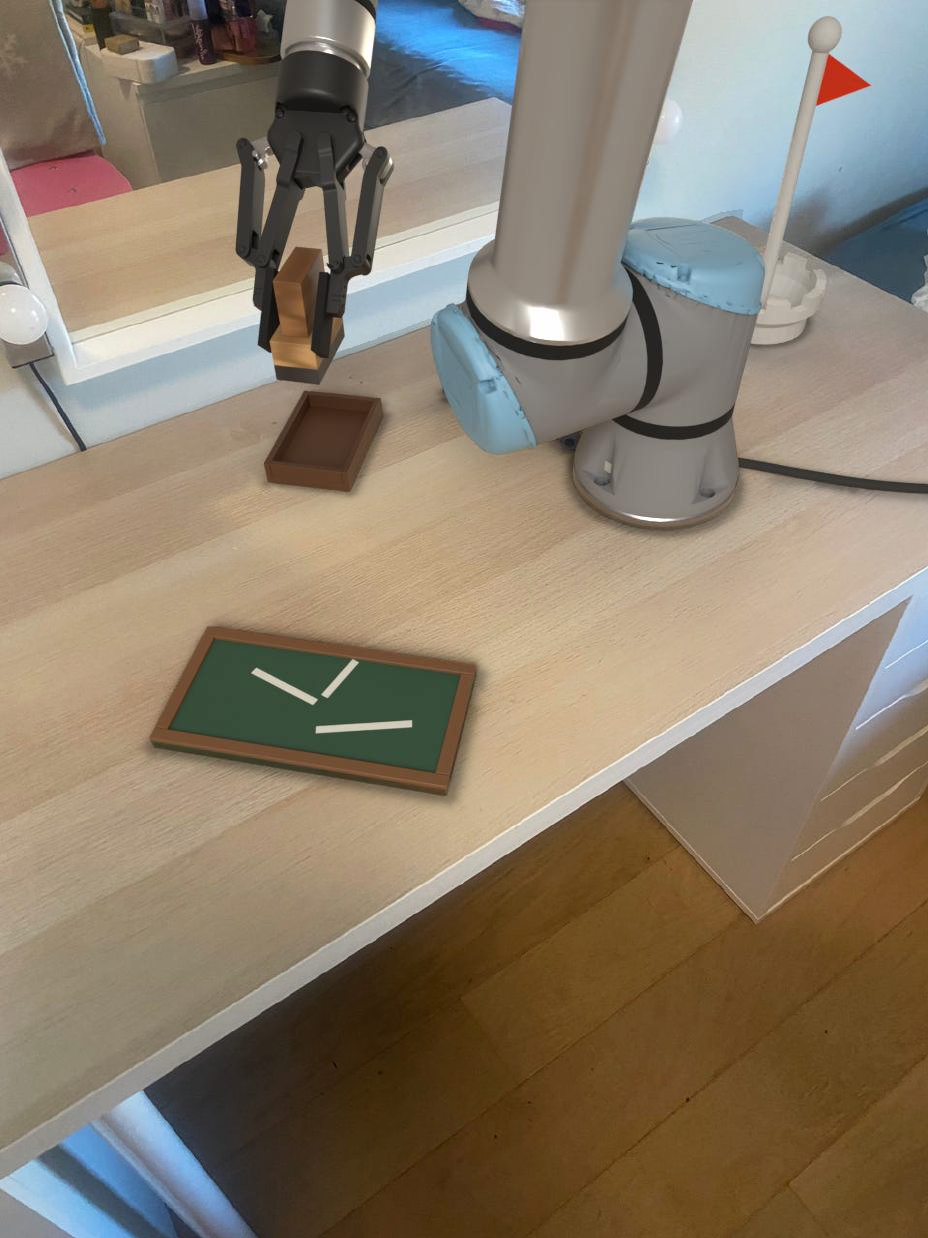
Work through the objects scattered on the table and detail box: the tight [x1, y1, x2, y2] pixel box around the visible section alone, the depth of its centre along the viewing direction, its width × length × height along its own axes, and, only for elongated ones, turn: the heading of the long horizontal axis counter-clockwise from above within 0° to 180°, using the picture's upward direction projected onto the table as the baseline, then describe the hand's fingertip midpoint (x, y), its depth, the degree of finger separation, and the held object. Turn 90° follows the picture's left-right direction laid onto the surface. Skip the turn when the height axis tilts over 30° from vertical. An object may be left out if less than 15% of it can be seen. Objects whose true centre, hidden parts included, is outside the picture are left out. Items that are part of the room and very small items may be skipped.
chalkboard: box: [149, 625, 477, 797], centre depth 67 cm, size 22×11×1 cm, turn 79°
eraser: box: [270, 246, 346, 386], centre depth 78 cm, size 4×8×9 cm, turn 169°
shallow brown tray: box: [263, 390, 384, 493], centre depth 88 cm, size 8×12×2 cm
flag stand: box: [751, 15, 872, 346], centre depth 92 cm, size 13×13×30 cm
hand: (293, 351), depth 77 cm, fingers closed on eraser, 4 cm apart
